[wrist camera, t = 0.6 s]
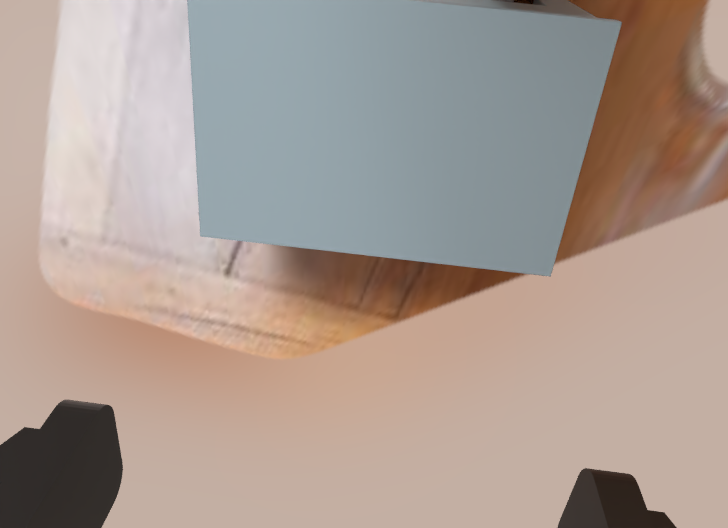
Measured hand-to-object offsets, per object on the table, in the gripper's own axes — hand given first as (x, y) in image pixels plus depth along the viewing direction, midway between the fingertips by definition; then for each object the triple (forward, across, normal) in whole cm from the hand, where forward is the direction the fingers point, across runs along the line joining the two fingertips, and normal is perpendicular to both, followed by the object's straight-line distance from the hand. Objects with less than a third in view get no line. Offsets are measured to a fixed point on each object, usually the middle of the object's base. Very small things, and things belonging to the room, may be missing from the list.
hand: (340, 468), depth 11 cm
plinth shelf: (+24, 0, 0) cm, 24 cm away
